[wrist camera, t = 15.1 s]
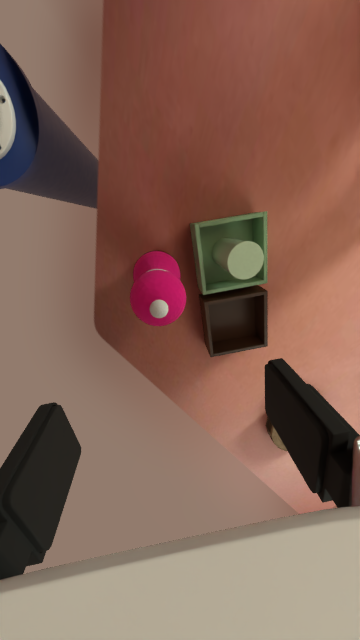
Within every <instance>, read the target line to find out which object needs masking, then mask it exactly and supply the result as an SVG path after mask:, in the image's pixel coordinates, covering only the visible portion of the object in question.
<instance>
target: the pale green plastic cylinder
mask: <svg viewBox="0 0 360 640" xmlns="http://www.w3.org/2000/svg"><path fill="white" fill-rule="evenodd" d="M212 259H213V261H214V262H215V264H216V265H218V266H219V267H221V268H222V269H224V270H225V271H226V272H228V273H229V274H231V275H232V276H234V277H235V278H237V279H242V280H244V279H249V278H251V277H253V276H255V275H256V274H257V273H258V272H259V271H260V269H261V267H262V265H263V261H264V255H263V251H262V249H261V247H260V246H259V245H258V244H256V243H254V242H251V241H246V240H241V239H237V238H232V237H224V238H221V239H219V240H218V241H217V242H216V243H215V245H214V246H213V249H212Z"/></svg>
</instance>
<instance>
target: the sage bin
mask: <svg viewBox="0 0 360 640" xmlns="http://www.w3.org/2000/svg"><path fill="white" fill-rule="evenodd" d="M190 229H191V236H192V244H193V252H194V260H195V267H196V275H197V283H198V288H199V289H200V291H201V292H202V294H203V295H205V294H211V293H216V292H222V291H227V290H232V289H238V288H243V287H249V286H254V285H260V284H265V283H267V211H266V212H255V213H249V214H243V215H237V216H231V217H226V218H220V219H214V220H208V221H202V222H197V223H191V224H190ZM224 237H232V238H237V239H241V240H246V241H251V242H254V243H256V244H258V245H259V246H260V247H261V249H262V251H263V255H264V261H263V265H262V267H261V269H260V271H259V272H258V273H257V274H256V275H255V276H253V277H251V278H249V279H244V280H242V279H237V278H235V277H234V276H232V275H231V274H229V273H228V272H226V271H225V270H224V269H222V268H221V267H219V266H218V265H216V264H215V262H214V261H213V259H212V249H213V246H214V245H215V243H216V242H217V241H218V240H219V239H221V238H224Z"/></svg>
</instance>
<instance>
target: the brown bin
mask: <svg viewBox="0 0 360 640" xmlns="http://www.w3.org/2000/svg"><path fill="white" fill-rule="evenodd" d="M199 299H200V306H201V314H202V322H203V330H204V337H205V345H206V347H207V350H208V352H209V354H210V357H214V356H220V355H225V354H230V353H235V352H240V351H245V350H250V349H256V348H261V347H266V346H267V290H265V289H263V288H262V287H260V286H258V285H254V286H249V287H243V288H238V289H232V290H227V291H222V292H216V293H211V294H205V295H203V294H199Z"/></svg>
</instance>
